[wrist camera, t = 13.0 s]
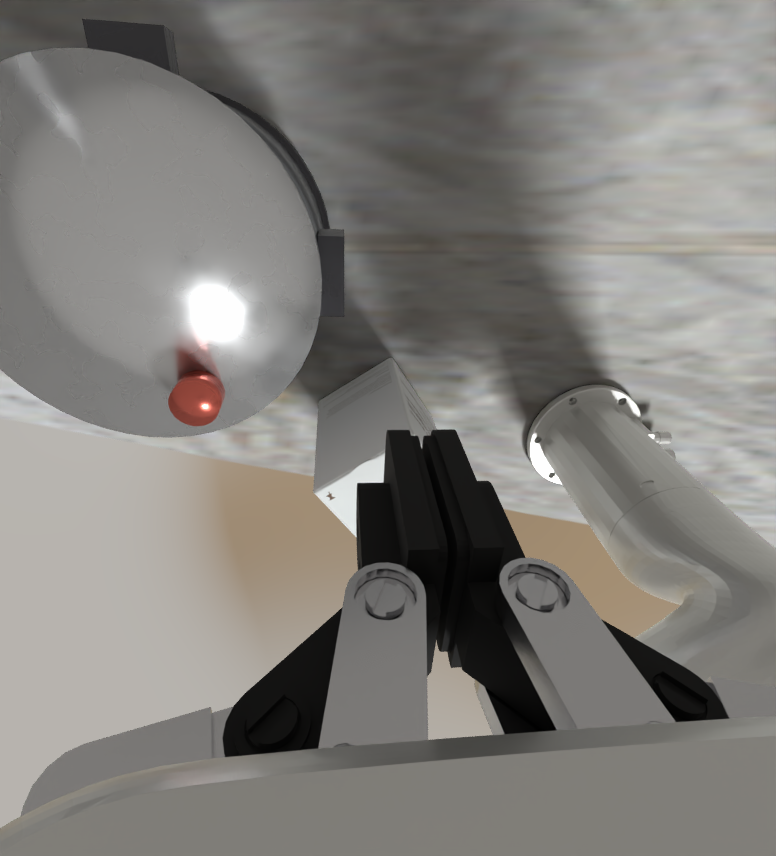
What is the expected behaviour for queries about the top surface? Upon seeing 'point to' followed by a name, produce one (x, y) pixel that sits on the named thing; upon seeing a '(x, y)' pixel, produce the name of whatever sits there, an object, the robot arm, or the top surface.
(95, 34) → the pressure cooker
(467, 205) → the top surface
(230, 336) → the lid
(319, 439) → the supplement box
